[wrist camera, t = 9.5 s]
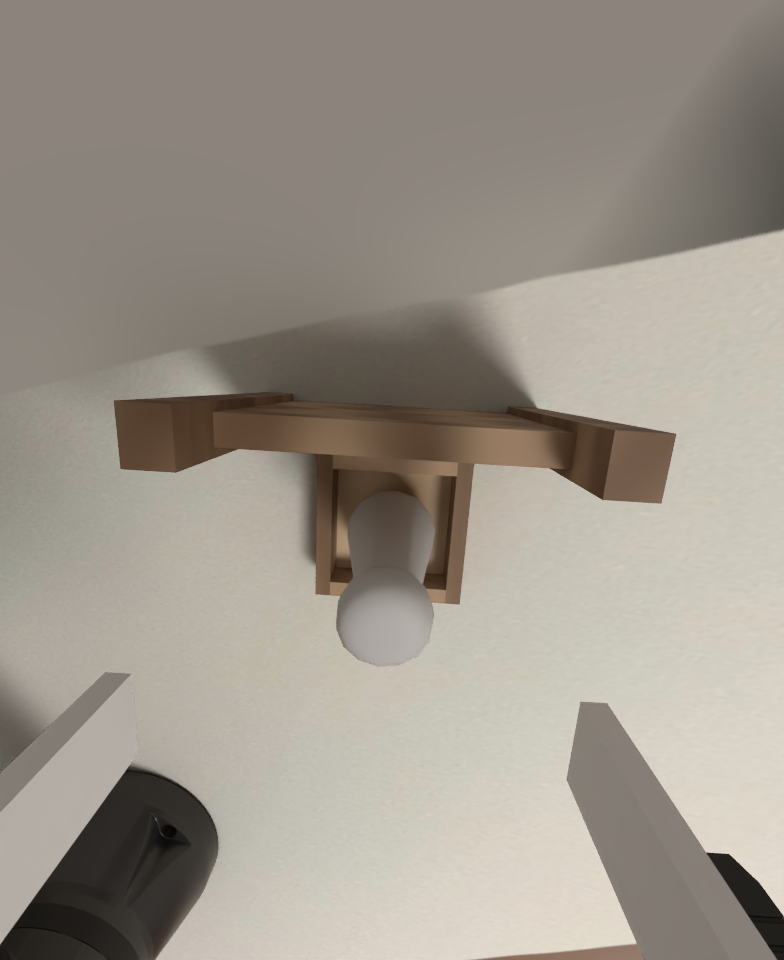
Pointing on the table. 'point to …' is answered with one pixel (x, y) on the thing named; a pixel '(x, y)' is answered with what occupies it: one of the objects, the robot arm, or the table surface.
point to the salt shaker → (387, 580)
